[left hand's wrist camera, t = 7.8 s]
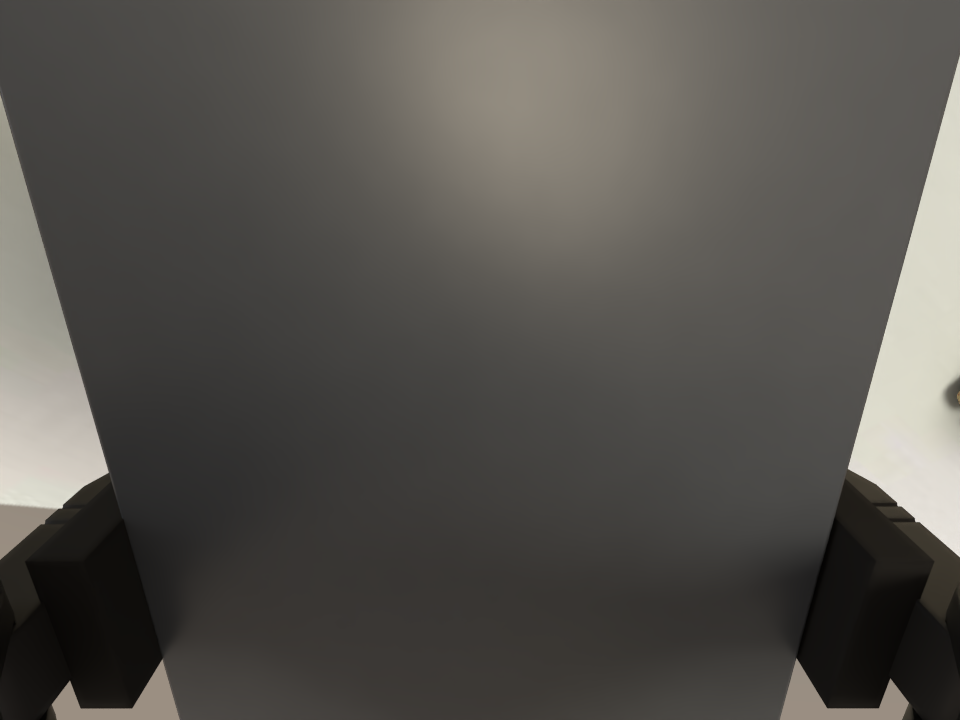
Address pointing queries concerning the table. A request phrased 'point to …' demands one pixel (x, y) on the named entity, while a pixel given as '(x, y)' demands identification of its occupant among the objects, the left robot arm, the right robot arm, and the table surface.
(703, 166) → the long beam
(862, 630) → the left robot arm
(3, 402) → the table surface
